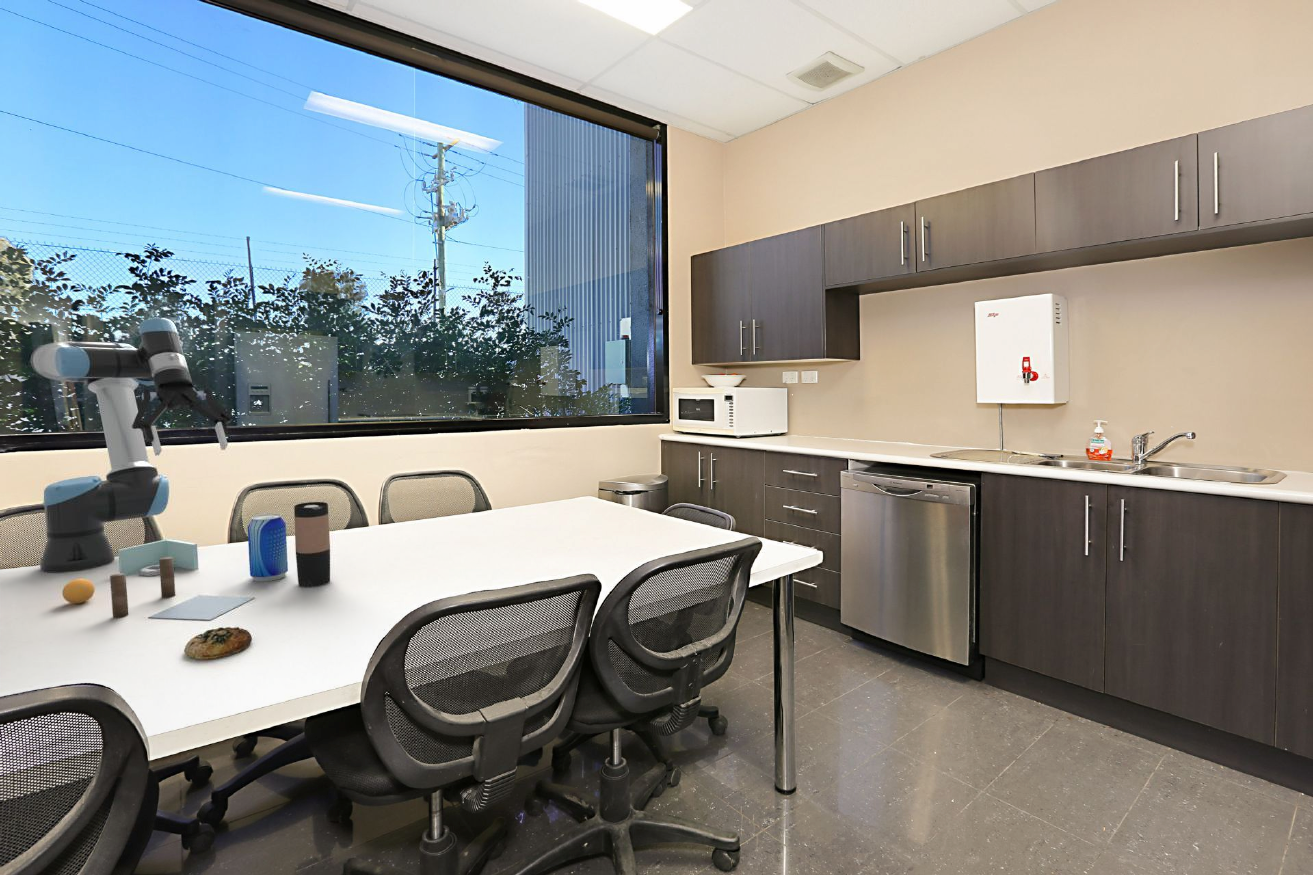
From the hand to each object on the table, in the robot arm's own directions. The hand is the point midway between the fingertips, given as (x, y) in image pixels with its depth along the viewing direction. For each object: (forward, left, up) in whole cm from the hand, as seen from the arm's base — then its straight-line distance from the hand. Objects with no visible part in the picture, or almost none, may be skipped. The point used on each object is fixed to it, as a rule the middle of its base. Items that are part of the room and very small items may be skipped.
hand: (192, 450), depth 157 cm
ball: (-18, -13, -31) cm, 38 cm away
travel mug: (+26, +6, -34) cm, 43 cm away
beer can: (+12, +9, -34) cm, 37 cm away
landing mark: (+12, -13, -34) cm, 38 cm away
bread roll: (+31, -33, -34) cm, 57 cm away
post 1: (-2, -20, -34) cm, 39 cm away
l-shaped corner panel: (-19, +10, -35) cm, 41 cm away
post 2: (-2, -7, -34) cm, 35 cm away
